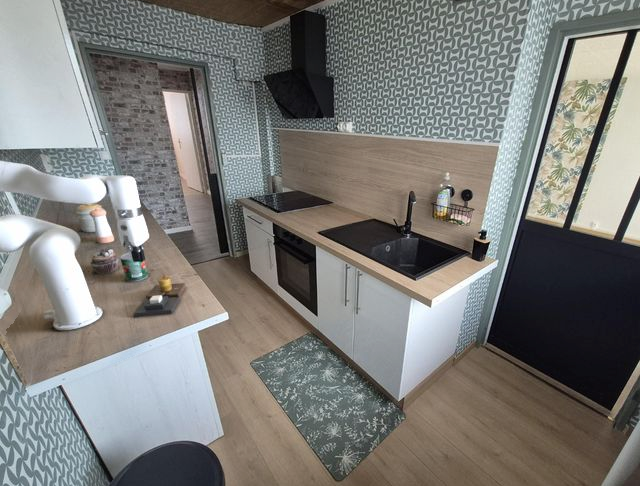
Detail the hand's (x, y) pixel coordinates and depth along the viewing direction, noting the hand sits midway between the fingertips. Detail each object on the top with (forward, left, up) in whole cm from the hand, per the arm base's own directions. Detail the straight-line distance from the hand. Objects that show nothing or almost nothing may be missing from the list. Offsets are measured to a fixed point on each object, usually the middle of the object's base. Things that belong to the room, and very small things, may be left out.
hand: (139, 260), depth 106 cm
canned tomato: (-14, +24, -19) cm, 34 cm away
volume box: (+4, +6, -19) cm, 20 cm away
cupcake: (-30, +34, -19) cm, 49 cm away
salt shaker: (-48, +73, -19) cm, 89 cm away
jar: (-64, +95, -19) cm, 116 cm away
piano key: (+4, -4, -16) cm, 16 cm away
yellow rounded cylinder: (+4, +6, -16) cm, 18 cm away
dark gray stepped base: (+4, -4, -19) cm, 20 cm away
